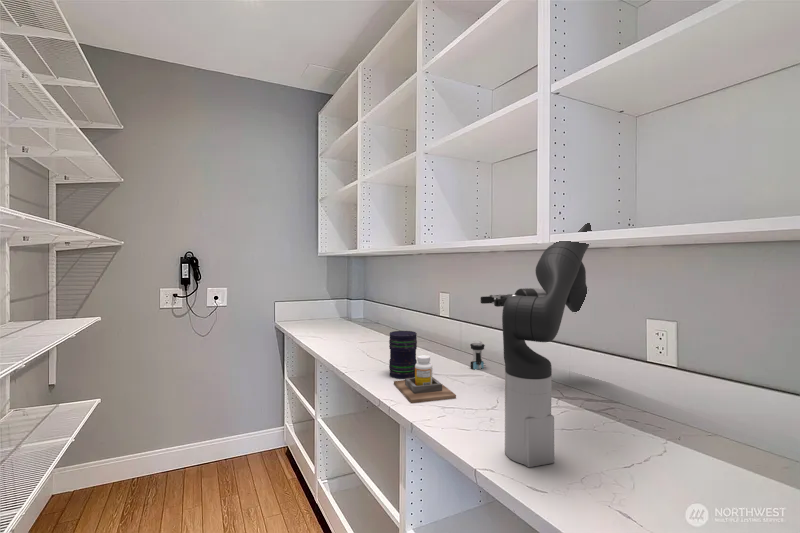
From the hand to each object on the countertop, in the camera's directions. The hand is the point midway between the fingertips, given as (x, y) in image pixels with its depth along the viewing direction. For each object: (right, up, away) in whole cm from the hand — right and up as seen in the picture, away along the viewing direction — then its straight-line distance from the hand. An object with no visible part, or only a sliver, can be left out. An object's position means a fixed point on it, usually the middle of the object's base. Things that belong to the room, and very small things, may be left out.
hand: (487, 301), depth 121 cm
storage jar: (-26, -28, +18) cm, 42 cm away
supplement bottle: (-20, -27, +1) cm, 34 cm away
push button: (+3, -28, +26) cm, 38 cm away
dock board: (-20, -28, +1) cm, 34 cm away
